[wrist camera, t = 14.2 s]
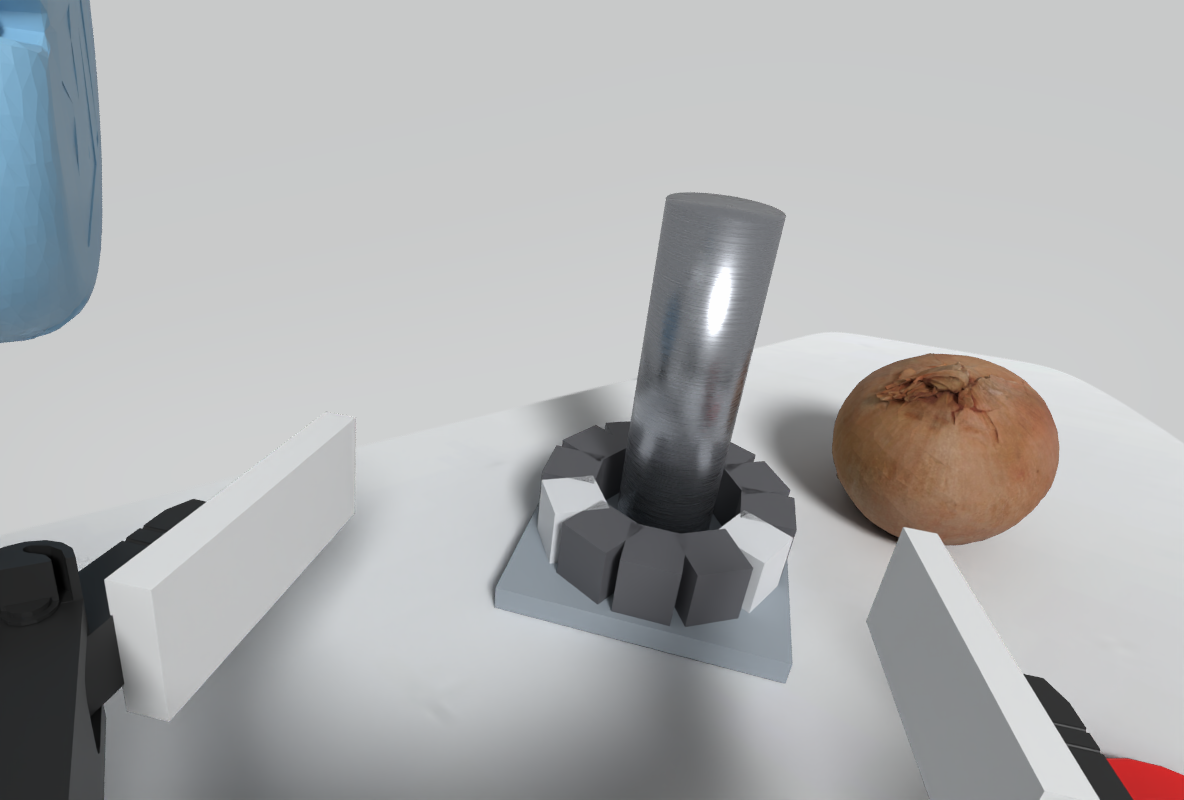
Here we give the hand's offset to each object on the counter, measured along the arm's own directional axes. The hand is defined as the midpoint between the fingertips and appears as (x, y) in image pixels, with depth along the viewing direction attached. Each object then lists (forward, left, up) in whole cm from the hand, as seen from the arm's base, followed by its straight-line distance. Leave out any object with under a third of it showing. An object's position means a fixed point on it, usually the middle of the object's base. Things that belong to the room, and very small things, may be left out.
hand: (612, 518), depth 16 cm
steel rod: (+1, +11, -8) cm, 14 cm away
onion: (+13, +18, -10) cm, 24 cm away
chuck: (+1, +11, -9) cm, 14 cm away
